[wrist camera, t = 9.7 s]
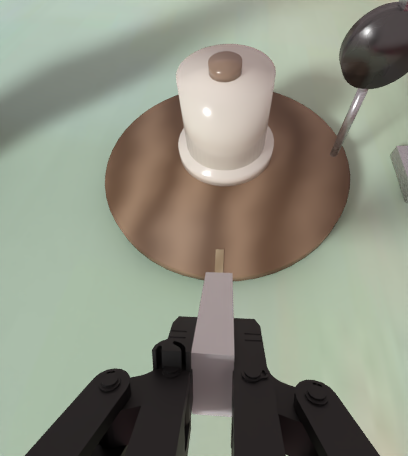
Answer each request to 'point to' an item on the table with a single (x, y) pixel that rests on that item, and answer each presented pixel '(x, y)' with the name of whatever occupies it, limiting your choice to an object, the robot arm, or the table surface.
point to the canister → (226, 113)
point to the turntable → (227, 196)
